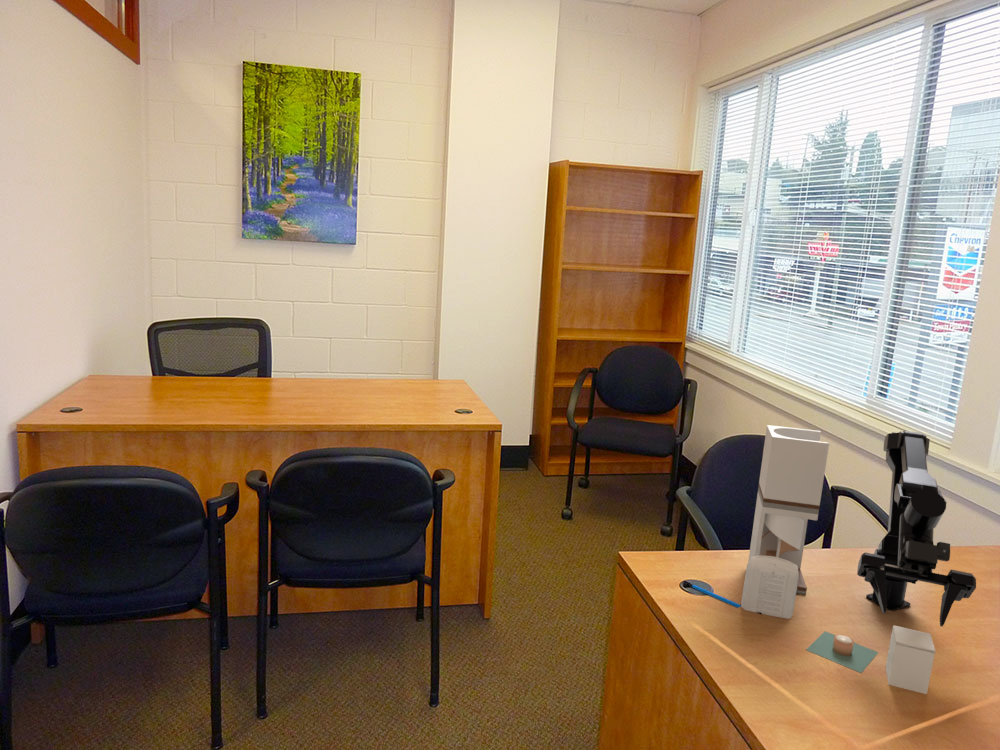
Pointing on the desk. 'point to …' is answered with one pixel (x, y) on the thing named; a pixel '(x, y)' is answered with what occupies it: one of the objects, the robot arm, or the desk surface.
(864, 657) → the mat
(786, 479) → the white coffee grinder
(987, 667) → the desk surface
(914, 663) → the white lidded box
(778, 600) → the photo printer
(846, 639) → the beige short cylinder
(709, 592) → the pen
